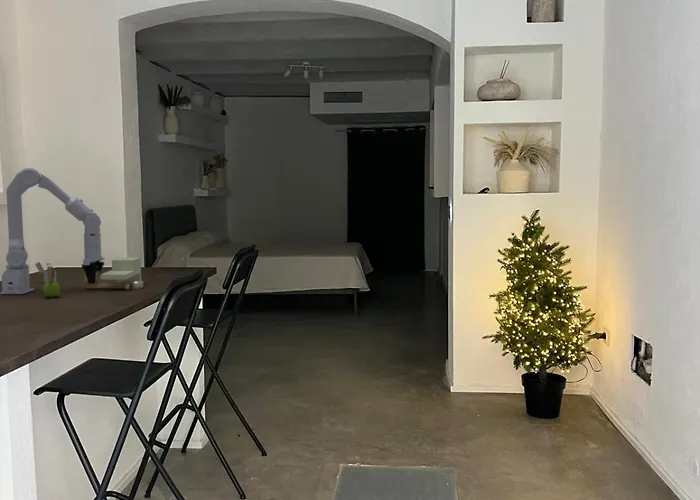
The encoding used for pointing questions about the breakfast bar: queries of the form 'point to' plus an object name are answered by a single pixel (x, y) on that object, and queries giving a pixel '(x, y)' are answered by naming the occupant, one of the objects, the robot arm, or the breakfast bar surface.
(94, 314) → the breakfast bar surface
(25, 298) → the breakfast bar surface
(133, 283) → the token
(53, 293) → the green gourd
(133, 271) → the pale chair
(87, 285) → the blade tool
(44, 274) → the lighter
